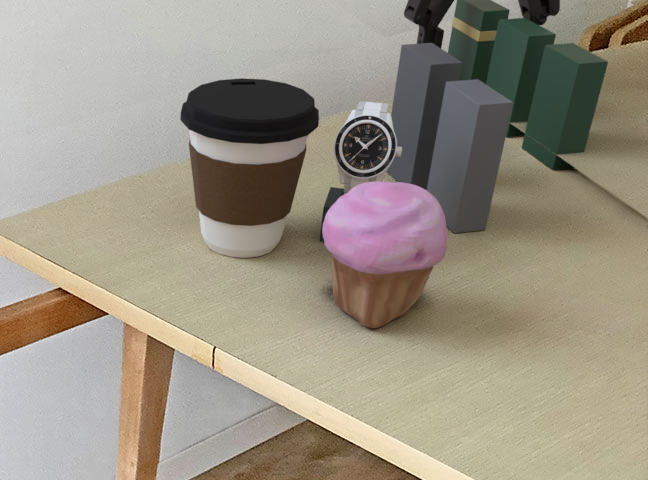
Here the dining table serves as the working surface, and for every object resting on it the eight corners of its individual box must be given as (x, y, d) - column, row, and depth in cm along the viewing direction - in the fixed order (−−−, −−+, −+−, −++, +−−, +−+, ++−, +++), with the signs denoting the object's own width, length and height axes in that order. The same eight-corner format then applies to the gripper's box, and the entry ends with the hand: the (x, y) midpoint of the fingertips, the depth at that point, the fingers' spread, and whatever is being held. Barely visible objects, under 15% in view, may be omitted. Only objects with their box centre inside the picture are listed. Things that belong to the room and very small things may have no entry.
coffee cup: (169, 216, 95) (173, 77, 88) (291, 213, 96) (305, 74, 88) (184, 273, 87) (189, 124, 79) (318, 269, 87) (335, 121, 80)
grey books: (485, 230, 94) (514, 95, 86) (453, 233, 93) (481, 98, 86) (411, 166, 105) (432, 42, 98) (382, 168, 104) (401, 44, 97)
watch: (316, 251, 90) (331, 119, 83) (329, 213, 96) (344, 87, 89) (383, 259, 89) (405, 126, 82) (392, 220, 95) (413, 93, 88)
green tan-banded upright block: (490, 106, 119) (510, 9, 112) (465, 108, 118) (483, 11, 112) (464, 89, 123) (482, -5, 117) (440, 91, 123) (456, -4, 116)
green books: (580, 167, 105) (608, 61, 99) (552, 170, 104) (579, 63, 98) (504, 115, 116) (525, 17, 110) (478, 118, 116) (498, 19, 110)
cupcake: (292, 301, 83) (305, 175, 77) (380, 276, 87) (400, 154, 80) (364, 353, 77) (385, 221, 71) (456, 324, 81) (484, 196, 74)
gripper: (592, -155, 111) (540, 69, 125) (391, -149, 107) (361, 82, 120) (634, -143, 105) (575, 90, 119) (424, -137, 101) (388, 104, 115)
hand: (467, 86), depth 120 cm, fingers open, 10 cm apart
